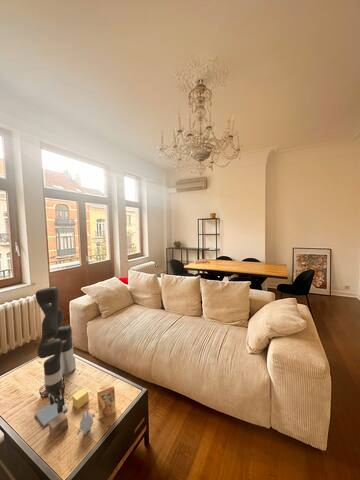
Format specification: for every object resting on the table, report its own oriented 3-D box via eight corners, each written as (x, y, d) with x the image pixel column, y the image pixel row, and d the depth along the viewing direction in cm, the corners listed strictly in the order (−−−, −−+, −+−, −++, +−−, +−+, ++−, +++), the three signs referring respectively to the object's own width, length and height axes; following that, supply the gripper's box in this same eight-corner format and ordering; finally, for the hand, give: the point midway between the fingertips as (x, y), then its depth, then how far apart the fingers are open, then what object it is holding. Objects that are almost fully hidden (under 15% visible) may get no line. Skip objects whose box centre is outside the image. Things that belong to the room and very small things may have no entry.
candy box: (115, 406, 118) (113, 382, 116) (116, 412, 114) (114, 388, 112) (98, 413, 114) (96, 388, 112) (99, 420, 110) (97, 394, 108)
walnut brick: (63, 422, 110) (62, 412, 109) (68, 427, 107) (67, 417, 106) (49, 433, 104) (48, 422, 103) (53, 439, 101) (52, 428, 100)
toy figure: (91, 419, 110) (89, 399, 109) (99, 424, 108) (97, 404, 106) (73, 439, 101) (71, 417, 99) (82, 444, 98) (80, 422, 97)
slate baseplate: (57, 399, 123) (57, 397, 123) (67, 409, 116) (67, 408, 116) (35, 415, 114) (35, 413, 114) (44, 427, 107) (43, 425, 107)
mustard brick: (84, 396, 125) (83, 387, 125) (88, 400, 122) (88, 391, 122) (73, 405, 120) (72, 395, 119) (77, 409, 117) (76, 400, 116)
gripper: (68, 380, 101) (70, 409, 103) (55, 368, 109) (58, 395, 111) (51, 390, 95) (54, 421, 97) (39, 377, 103) (42, 406, 105)
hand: (56, 407), depth 104 cm, fingers open, 8 cm apart
